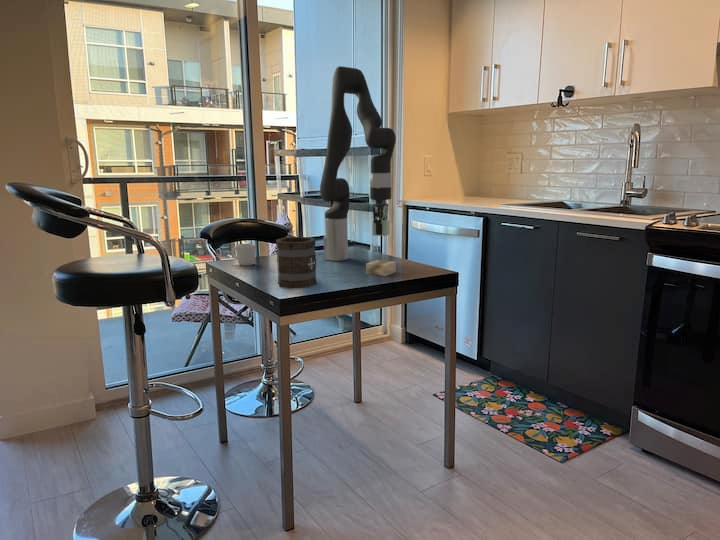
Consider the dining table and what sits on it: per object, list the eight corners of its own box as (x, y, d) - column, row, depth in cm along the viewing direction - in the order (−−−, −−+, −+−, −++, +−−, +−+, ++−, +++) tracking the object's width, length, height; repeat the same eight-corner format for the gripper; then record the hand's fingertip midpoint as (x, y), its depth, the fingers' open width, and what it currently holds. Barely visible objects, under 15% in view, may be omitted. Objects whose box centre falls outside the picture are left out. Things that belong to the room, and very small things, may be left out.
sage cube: (372, 235, 186) (372, 221, 185) (376, 233, 191) (375, 219, 190) (386, 235, 185) (386, 221, 184) (389, 233, 190) (389, 220, 188)
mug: (312, 289, 168) (311, 243, 165) (272, 288, 170) (270, 242, 167) (324, 275, 187) (323, 234, 184) (287, 274, 189) (285, 234, 186)
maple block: (366, 274, 190) (365, 263, 189) (376, 270, 196) (376, 259, 195) (385, 276, 185) (385, 265, 185) (395, 272, 192) (395, 261, 191)
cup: (226, 265, 206) (225, 245, 205) (238, 261, 214) (237, 242, 212) (249, 267, 202) (248, 247, 201) (260, 263, 210) (259, 243, 208)
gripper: (375, 184, 192) (375, 230, 195) (365, 187, 178) (365, 236, 182) (395, 184, 190) (395, 231, 193) (386, 187, 176) (386, 236, 180)
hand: (380, 233), depth 188 cm, fingers closed on sage cube, 5 cm apart
